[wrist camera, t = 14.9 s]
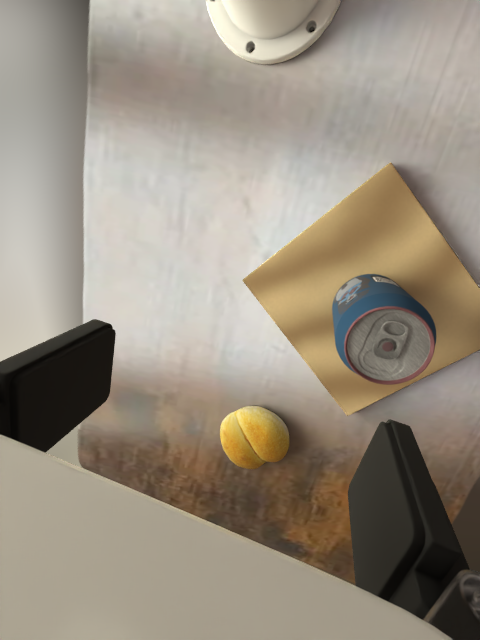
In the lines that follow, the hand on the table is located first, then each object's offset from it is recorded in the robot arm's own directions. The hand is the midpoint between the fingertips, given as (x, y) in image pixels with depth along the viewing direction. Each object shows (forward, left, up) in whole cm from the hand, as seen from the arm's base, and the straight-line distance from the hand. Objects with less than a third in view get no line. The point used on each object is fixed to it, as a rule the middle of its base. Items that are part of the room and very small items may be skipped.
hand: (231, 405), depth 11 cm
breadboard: (+7, +4, -27) cm, 28 cm away
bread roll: (+14, -17, -27) cm, 34 cm away
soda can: (+7, +4, -25) cm, 27 cm away
